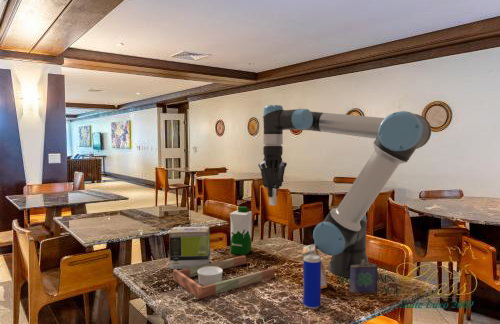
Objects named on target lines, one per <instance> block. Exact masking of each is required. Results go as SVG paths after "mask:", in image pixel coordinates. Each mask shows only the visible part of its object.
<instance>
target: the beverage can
mask: <svg viewBox="0 0 500 324" xmlns="http://www.w3.org/2000/svg"><path fill="white" fill-rule="evenodd" d="M321 262H322V259H321V256H320V255H319V256H318V255H314V254H308V255H305V256H304V259H303V262H302V263H303V266H302V267H303V270H302V271H303V275H302V276H303V277H302V278H303V283H302V286H303V288H302V289H303V291H302V304H303V305H304V307H305V308H308V309H310V310H311V309H313V310H314V309H319V308H320V307H321V299H322V298H321V294H322V293H321V290H322V289H321Z"/></svg>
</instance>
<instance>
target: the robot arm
mask: <svg viewBox="0 0 500 324" xmlns="http://www.w3.org/2000/svg"><path fill="white" fill-rule="evenodd" d="M262 119H263V134H262V135H263V137H262V138H263V141H262V142H263V148H262V151H263V153H262V154H263V157H264V158H263V159H262V160H263V161H261V162H260V163H258V168H259V170H260V176H261V180H262V184H263V187H264V188H266V189H267V197H268V204H269V206H273V207H274V206H277V197H278V196H279V195H278V192H279V191H278V190H279V189H280V187H283V180H284V176H285V175H284V174H285V171H286V167H287V165H288V164H287V162H285V161H283V158H282V155H283V151H284V148H283V146H282V145H283V141H284V138H283V134H284V132H283V131H285V130H286V131H289V130H290V131H292V130H295V131H296V130H297V131H312V132H320V133H321V132H322V133H327V134H328V133H329V134H336V135H346V136H353V137H359V138H360V137H362V138H369V139H374V141H373V148H374V150H373V151H372V153H371V155H370V157H369V159H368V160H367V162H366V163H365V164H364V166H363V168H362V169H361V171H360V172H359V174H358V176H357V177H356V178H355V180H354V181H353V183H352V184H351V186H350V187H349V189H348V191H347V193H346V194H345V195H344V197H343V199H342V200H341V202H340V203H339V204H338V207H336V208H335V207H334V208H332V209H330V211H329V212H328V214H327V215H326V216H325V218H324V220H323V221H320V222H319V223H318V224H317V225H316V226H315V227H314V228H313V231H312V232H313V233H312V238H313V241H314V242H313V243H314V244H315V245H316V247H317V250H319V251H320V252H321V253H323V254H324V255H326V256H327V255H328V256H331V258H330V261H329V263H328V264H329V265H328V266H329V268H328V269H329V271H330V272H331V273H333V274H334V275H336V276H339V277H344V278H348V279H350V266H351V265H359V264H361V262H362V259H364V260H365V262H366V263H369V260H368V258H369V257H368V254H367V249H366V248H367V224H368V222H367V215H366V213H367V212H368V210H369V209H370V208H371V206H372V205H373V203H374V202H375V200H376V199H377V197H378V196H379V194H380V193H381V192H382V191H383V189H384V187H385V186H386V184H387V183H388V181H389V180H390V178H391V177H392V175H393V174H394V172H395V171H396V169H397V168H398V166H399V165H400V164H405V163H408V161H409V160H410V158H411V157H412V155H413V154H414V153H415V151H416V150H417V149H420V148H422V147H424V146H425V145H426V144H427V143H428V142H429V140H430V139H431V136H432V127H431V124H430V122H429V121H428V119H427V118H425V117H424V116H422V115H420V114H417V113H412V112H410V111H403V110H402V111H395V112H393V113H390V114H389V115H387V116H386V117H376V116H367V115H366V116H365V115H354V114H344V113H343V114H342V113H331V112H323V111H321V112H320V111H311V110H310V109H308V108H295V109H284V108H283V106H282V105H280V104H279V105H278V104H273V105H272V104H269V105H265V106H264V107H263V116H262ZM369 264H370V263H369Z"/></svg>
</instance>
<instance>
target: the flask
mask: <svg viewBox="0 0 500 324" xmlns="http://www.w3.org/2000/svg"><path fill="white" fill-rule="evenodd" d="M378 268H379V266H378V265H377V264H375V263H372V262H371V263H366V262H365V260H364V259H362V262H361V264H359V265H351V266H350V278H349V293H351V294H354V295H355V294H356V295H358V294H363V295H364V294H369V293H370V294H373V293H374V294H376V293H377V292H378V273H379V272H378V271H379V270H378Z"/></svg>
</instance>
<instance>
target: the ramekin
mask: <svg viewBox="0 0 500 324" xmlns="http://www.w3.org/2000/svg"><path fill="white" fill-rule="evenodd" d="M223 270H224V269H221V268H219V267H214V266H209V267H203V268H200V269H199V270H198V271H197V272H198V275H197V277H198V284H199V285H201V286H206V285H210V284H214V283H217V282H221V281H223V273H224V271H223Z"/></svg>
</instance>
